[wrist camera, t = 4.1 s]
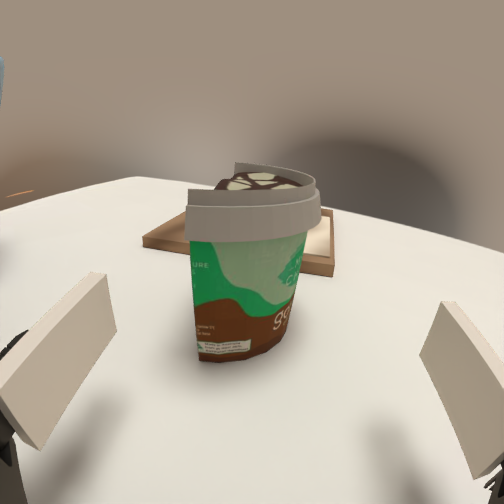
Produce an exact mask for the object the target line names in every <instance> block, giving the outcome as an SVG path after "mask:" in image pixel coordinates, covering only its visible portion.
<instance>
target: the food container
mask: <svg viewBox="0 0 504 504" xmlns="http://www.w3.org/2000/svg"><path fill="white" fill-rule="evenodd" d="M321 220H322V217H321V205H320V195H319V191H318V189H317V188H315V179H314V178H313V177H311V176H310V175H307V174H305V173H302V172H298V171H295V170H290V169H286V168H281V167H274V166H268V165H260V164H249V163H236V162H235V171H234V176H233V178H231V179H223V180H221V181H220V182H219V183H218V185H217V186H216V187H215V189H214V190H203V189H188V205H187V206H186V214H185V233H184V240H187V241H189V243H190V261H191V276H192V290H193V303H194V315H195V326H196V336H197V346H198V355H199V361H206V362H216V363H222V362H232V361H241V360H246V359H249V358H252V357H254V356H257V355H260V354H263V353H265V352H267V351H268V350H270V349H271V348H272V347H273V346H275V345H276V344H277V343H279V342H280V341H281V339H282V337H283V335H284V334H285V332H286V328H287V324H288V320H289V315H290V311H291V307H292V302H293V298H294V294H295V289H296V285H297V280H298V276H299V271H300V266H301V262H302V257H303V252H304V247H305V242H306V238H307V233H308V230H310V229H312V228H314V227H315V226H317V225H318V224H319V223H320V221H321Z"/></svg>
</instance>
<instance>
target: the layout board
mask: <svg viewBox="0 0 504 504" xmlns="http://www.w3.org/2000/svg"><path fill="white" fill-rule="evenodd" d="M185 214H186V211H185V212H183V213H182V214H180V215H178V216H176V217H175V218H173V219H171V220H169V221H168V222H166V223H164V224H162V225H161V226H159V227H157V228H156V229H154V230H152V231H151V232H149V233H147V234H146V235H144V236H142V238H143V247H148V248H153V249H159V250H165V251H171V252H177V253H183V254H190V243H189V241H187V240H184V233H185ZM321 217H322V220H321V221H320V223H319V224H318V225H317V226H315V227H314V228H312V229H310V230H308V233H307V238H306V242H305V247H304V252H303V257H302V262H301V266H300V271H299V272H303V273H309V274H316V275H323V276H329V277H333V272H334V266H335V259H334V227H333V210H328V209H321Z"/></svg>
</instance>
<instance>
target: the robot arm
mask: <svg viewBox="0 0 504 504" xmlns="http://www.w3.org/2000/svg"><path fill="white" fill-rule="evenodd" d="M3 63H4V60H3V58H2V57H0V104H1V95H2V87H3V77H4V64H3ZM116 332H117V329H116V325H115V320H114V315H113V310H112V305H111V300H110V294H109V288H108V283H107V276H106V274H101V273H94V272H90V273H89V274H88V275H87V276H85V277H84V278H83V279H82V280H81V281H80V282H79V283H78V284H77V285H75V286H74V287H73V288H72V289H71V290H70V291H69V292H68V293H67V294H66V295H65V296H64V297H63V298H61V299H60V300H59V301H58V302H57V303H56V304H55V305H54V306H53V307H52V308H51V309H50V310H49V311H48V312H47V313H46V314H45V315H44V316H43V317H42V318H41V319H40V320H39V321H38V322H37V323H36V324H35V325H34V326H33V327H32V328H31V329H30V330H26V331H24V332H22V333H21V334H19V335H17V336H16V337H15V338H14V339H13V340H12V341H11V342H10V343H9V344H8V345H7V348H6V347H5V348H4V349H3V350H2V351H1V352H0V504H28V503H27V500H26V496H25V492H24V488H23V483H22V479H21V474H20V469H19V464H18V458H17V452H16V445H15V442H14V439H13V438H12V435H13V434H14V432H16V433H17V434H18V436H19V437H20V438H21V440H22V441H23V442H24V443H26V444H28V445H30V446H32V447H33V448H35V449H37V450H39V451H41V450H42V448H43V446H44V444H45V443H46V441H47V439H48V437H49V436H50V434H51V432H52V431H53V429H54V427H55V426H56V424H57V422H58V421H59V419H60V417H61V416H62V414H63V412H64V411H65V409H66V408H67V406H68V404H69V403H70V401H71V400H72V398H73V396H74V395H75V393H76V392H77V390H78V389H79V387H80V385H81V384H82V382H83V381H84V379H85V378H86V376H87V375H88V373H89V372H90V370H91V369H92V367H93V366H94V364H95V363H96V361H97V360H98V358H99V357H100V355H101V354H102V352H103V351H104V349H105V348H106V346H107V345H108V344H109V342H110V341H111V339H112V338H113V336H114V335H115V333H116ZM419 356H420V358H421V360H422V362H423V364H424V366H425V368H426V370H427V372H428V374H429V376H430V378H431V380H432V382H433V384H434V386H435V388H436V390H437V392H438V394H439V396H440V399H441V401H442V403H443V405H444V407H445V410H446V412H447V414H448V416H449V419H450V421H451V423H452V426H453V428H454V430H455V433H456V435H457V438H458V440H459V443H460V445H461V448H462V450H463V453H464V455H465V458H466V461H467V463H468V466H469V469H470V472H471V474H472V477H473V480H475V479H478V478H480V477H483V476H485V475H488V474H490V473H491V472H492V471H493V470H494V469H495V468H496V467H497V466H498V465H499V464H501V466H502V470H500V471H499V472H498V473H497V474H496V475H495V476H494V477H493V478H491V479H490V480H489V481H488V482H487V483H486V484H485V486H484V488H485V489H486V488H487V487H488V486H490V485H491V484H492V483H493V482H494V481H495V484H494V485H493V486H492V487H491V488H490V489H489V490H491V491H492V493H491V496H490V499H489V502H488V504H504V364H503V362H502V361H501V360H500V358H499V357H498V355H497V354H496V353H495V351H494V350H493V349H492V347H491V346H490V345H489V343H488V342H487V341H486V339H485V338H484V337H483V335H482V334H481V333H480V332H479V330H478V329H477V328H476V327H475V325H474V324H473V323H472V322H471V320H470V319H469V318H468V317H467V315H466V314H465V313H464V312H463V311H462V309H461V308H460V307H459V306H458V305H457V303H456V302H443V301H441V303H440V306H439V308H438V311H437V314H436V316H435V319H434V321H433V324H432V326H431V329H430V331H429V334H428V336H427V338H426V341H425V343H424V345H423V348H422V350H421V352H420V354H419Z"/></svg>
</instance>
